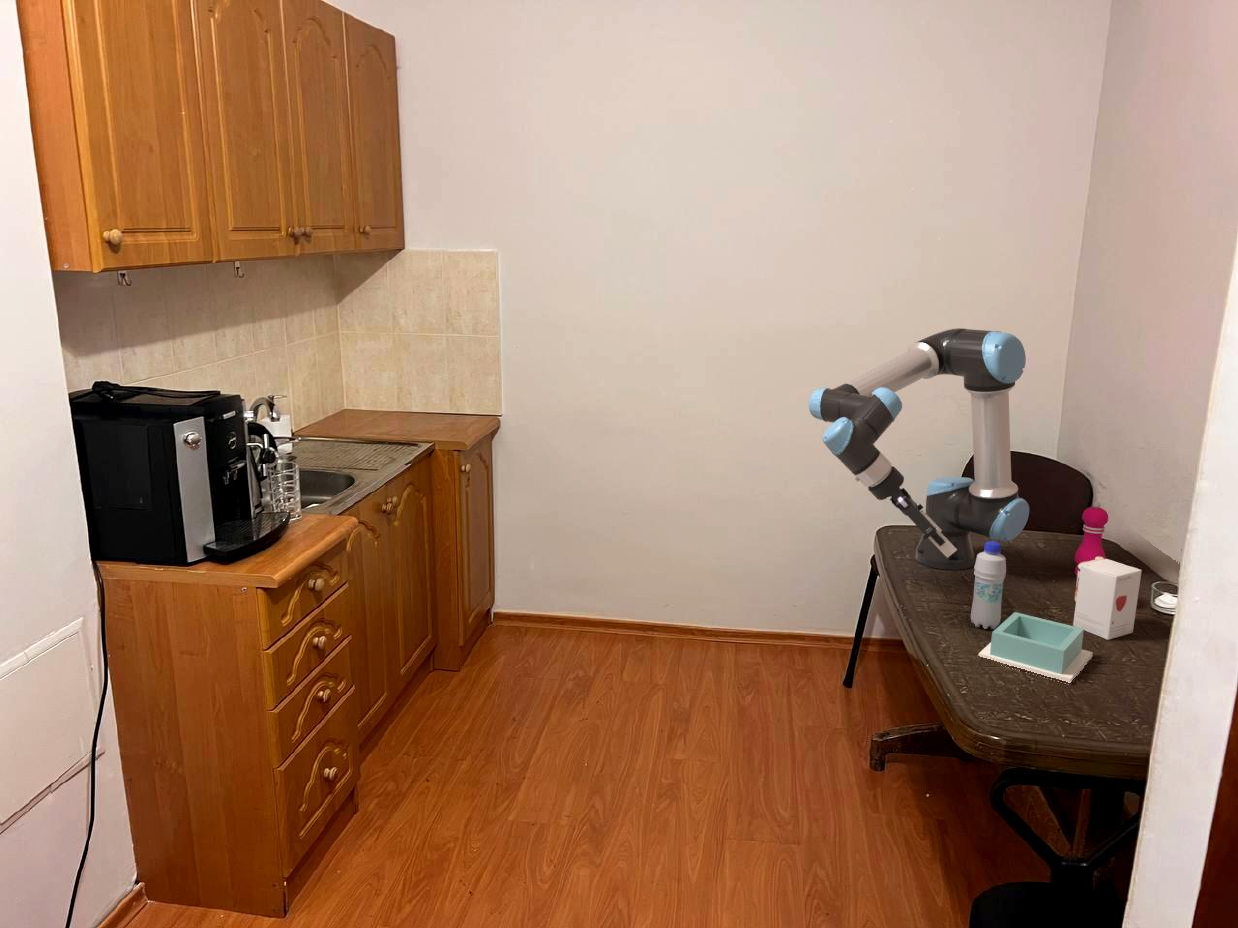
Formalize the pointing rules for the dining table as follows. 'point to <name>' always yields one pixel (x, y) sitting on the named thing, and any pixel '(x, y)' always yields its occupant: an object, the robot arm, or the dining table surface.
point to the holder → (1038, 647)
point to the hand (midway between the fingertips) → (944, 543)
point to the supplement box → (1107, 598)
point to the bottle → (988, 586)
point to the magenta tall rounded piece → (1092, 535)
